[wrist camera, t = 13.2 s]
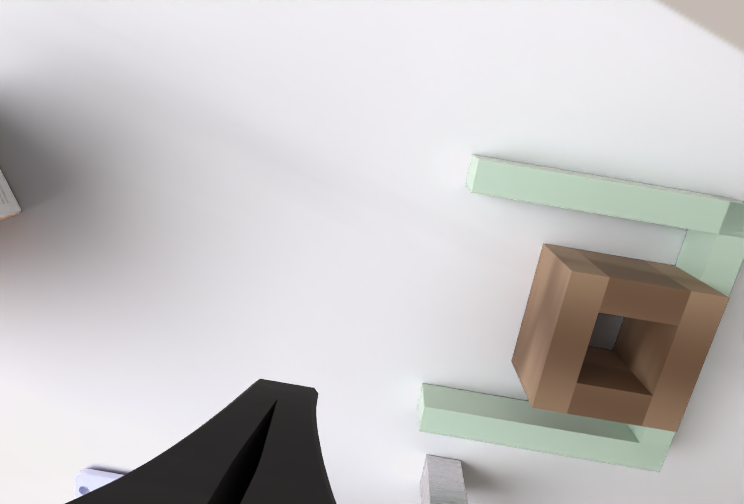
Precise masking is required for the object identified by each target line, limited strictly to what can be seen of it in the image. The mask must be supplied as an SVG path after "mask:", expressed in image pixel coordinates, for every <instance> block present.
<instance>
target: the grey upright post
mask: <svg viewBox="0 0 744 504" xmlns="http://www.w3.org/2000/svg"><path fill="white" fill-rule="evenodd" d="M420 487H421V504H468V502H467V496H466V490H465V485H464V479H463V473H462V467H461V461H460V460H455V459H449V458H443V457H437V456H431V455H426V460H425V464H424V468H423V473H422V477H421V482H420Z"/></svg>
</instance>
